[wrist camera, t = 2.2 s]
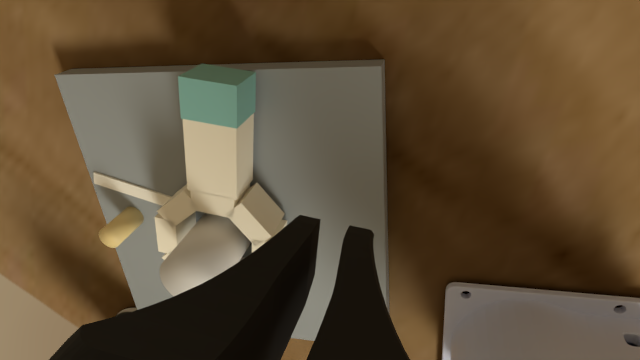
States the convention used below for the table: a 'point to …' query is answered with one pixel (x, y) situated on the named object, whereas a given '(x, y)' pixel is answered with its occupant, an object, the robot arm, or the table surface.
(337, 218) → the post board
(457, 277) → the table surface
